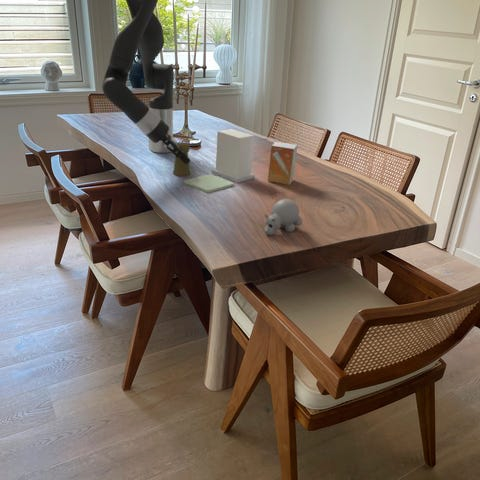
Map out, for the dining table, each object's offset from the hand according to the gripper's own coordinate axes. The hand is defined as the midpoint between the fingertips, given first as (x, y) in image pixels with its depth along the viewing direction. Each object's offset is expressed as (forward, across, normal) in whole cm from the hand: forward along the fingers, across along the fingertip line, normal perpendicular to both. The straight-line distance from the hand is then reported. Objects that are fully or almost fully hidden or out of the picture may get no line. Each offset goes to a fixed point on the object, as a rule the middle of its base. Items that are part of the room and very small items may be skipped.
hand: (187, 159), depth 162 cm
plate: (+7, -12, 0) cm, 14 cm away
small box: (+26, -10, -19) cm, 34 cm away
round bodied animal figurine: (+16, -50, -8) cm, 53 cm away
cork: (+2, 0, +5) cm, 6 cm away
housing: (+15, -3, -8) cm, 17 cm away
